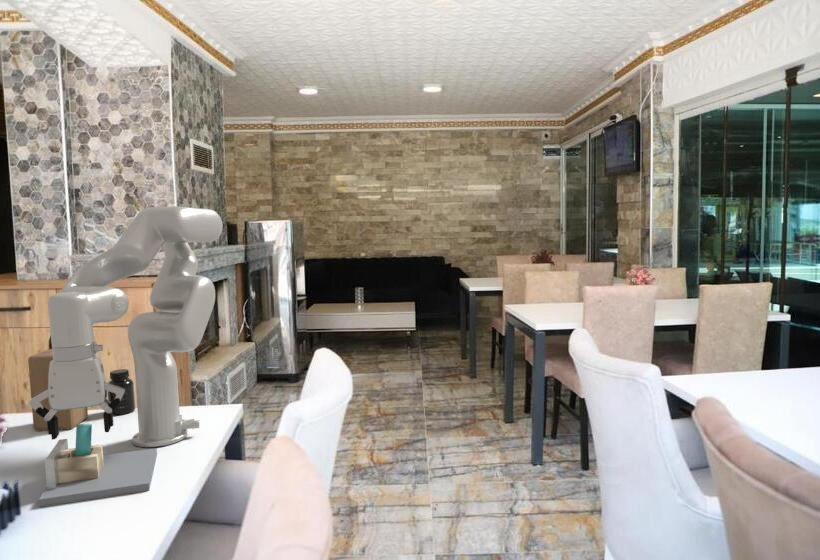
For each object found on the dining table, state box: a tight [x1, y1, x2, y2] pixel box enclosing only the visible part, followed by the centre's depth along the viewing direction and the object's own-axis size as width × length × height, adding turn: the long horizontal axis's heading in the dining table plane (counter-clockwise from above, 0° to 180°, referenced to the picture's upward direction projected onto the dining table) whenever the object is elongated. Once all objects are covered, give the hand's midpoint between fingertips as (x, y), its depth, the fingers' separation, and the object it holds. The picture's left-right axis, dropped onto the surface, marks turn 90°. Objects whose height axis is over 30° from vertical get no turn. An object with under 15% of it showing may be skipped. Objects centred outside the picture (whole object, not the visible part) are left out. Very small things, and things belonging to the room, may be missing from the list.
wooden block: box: [27, 348, 89, 431], centre depth 158 cm, size 10×10×20 cm
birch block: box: [57, 444, 104, 483], centre depth 122 cm, size 7×7×4 cm
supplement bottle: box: [107, 368, 136, 416], centre depth 168 cm, size 7×7×12 cm
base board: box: [38, 447, 158, 508], centre depth 123 cm, size 19×20×2 cm
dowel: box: [75, 423, 93, 457], centre depth 122 cm, size 3×3×10 cm
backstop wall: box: [44, 438, 69, 490], centre depth 120 cm, size 2×12×6 cm, turn 19°
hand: (82, 433), depth 122 cm, fingers open, 9 cm apart
